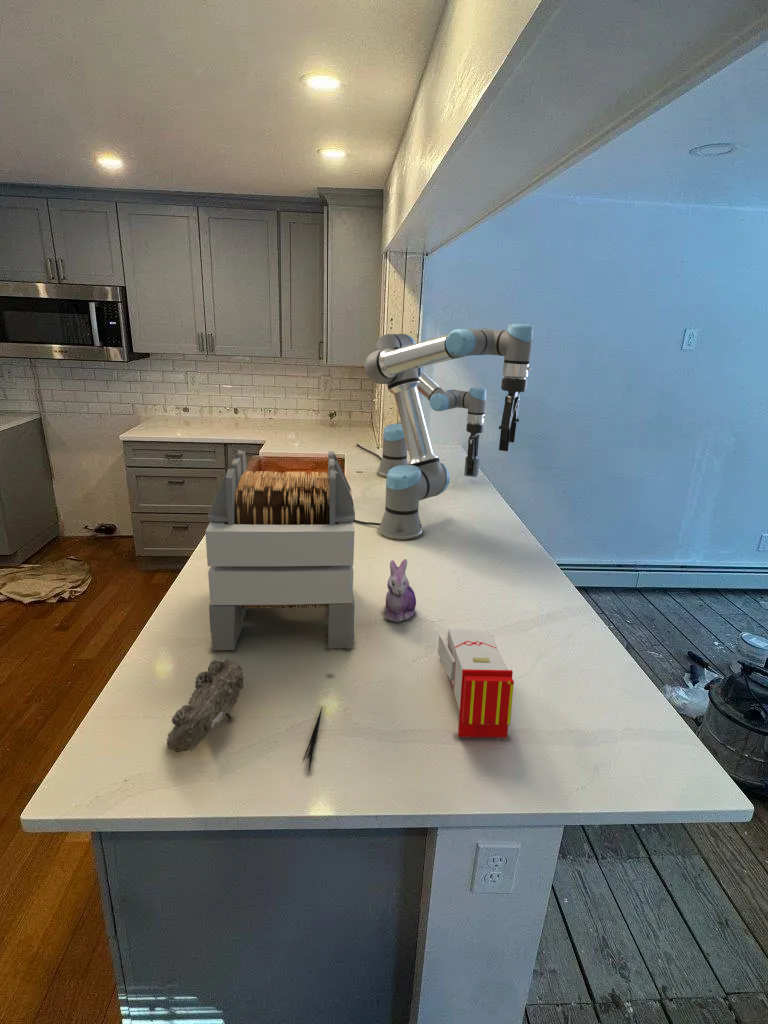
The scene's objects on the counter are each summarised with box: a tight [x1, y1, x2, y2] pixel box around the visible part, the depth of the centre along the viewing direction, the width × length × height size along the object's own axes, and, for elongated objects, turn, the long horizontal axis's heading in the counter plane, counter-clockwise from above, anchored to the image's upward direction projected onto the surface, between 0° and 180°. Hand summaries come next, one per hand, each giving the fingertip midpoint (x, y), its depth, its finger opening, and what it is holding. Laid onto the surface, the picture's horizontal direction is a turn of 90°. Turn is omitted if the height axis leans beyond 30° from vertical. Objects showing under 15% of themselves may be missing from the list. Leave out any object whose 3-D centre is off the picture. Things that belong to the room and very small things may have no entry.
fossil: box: [166, 658, 245, 754], centre depth 106 cm, size 22×10×15 cm
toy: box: [437, 628, 515, 738], centre depth 117 cm, size 12×13×30 cm
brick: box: [463, 455, 481, 478], centre depth 260 cm, size 5×6×9 cm
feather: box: [301, 673, 332, 771], centre depth 108 cm, size 2×28×2 cm
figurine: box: [384, 558, 417, 623], centre depth 145 cm, size 9×10×15 cm
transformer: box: [204, 449, 356, 652], centre depth 138 cm, size 34×33×41 cm
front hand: (506, 446), depth 179 cm, fingers open, 13 cm apart
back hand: (471, 473), depth 261 cm, fingers closed on brick, 5 cm apart
